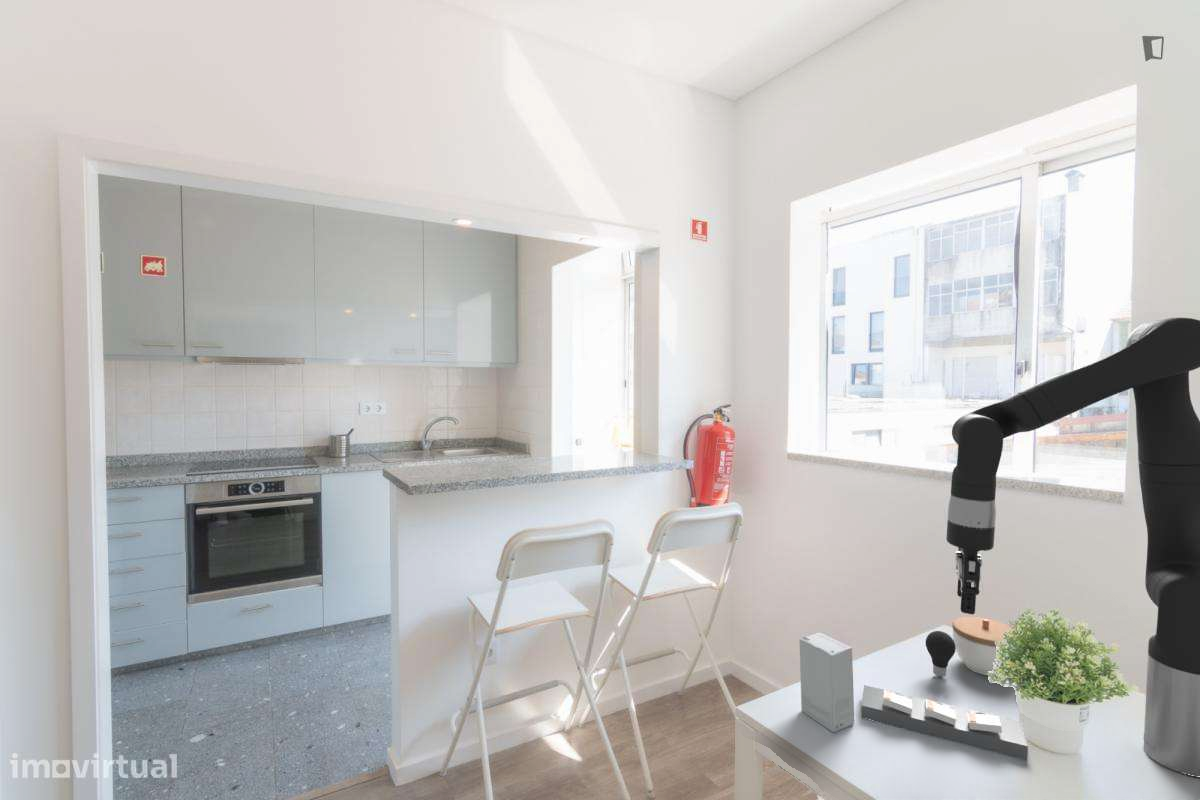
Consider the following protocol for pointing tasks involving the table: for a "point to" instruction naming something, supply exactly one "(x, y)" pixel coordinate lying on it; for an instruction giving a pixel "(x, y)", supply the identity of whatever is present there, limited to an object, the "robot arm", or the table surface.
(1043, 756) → the table surface
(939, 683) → the table surface
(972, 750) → the table surface
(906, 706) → the rocker
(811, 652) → the skincare box
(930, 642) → the light bulb
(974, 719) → the rocker
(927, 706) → the rocker middle
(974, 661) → the lidded bowl
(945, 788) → the table surface
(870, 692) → the power strip
